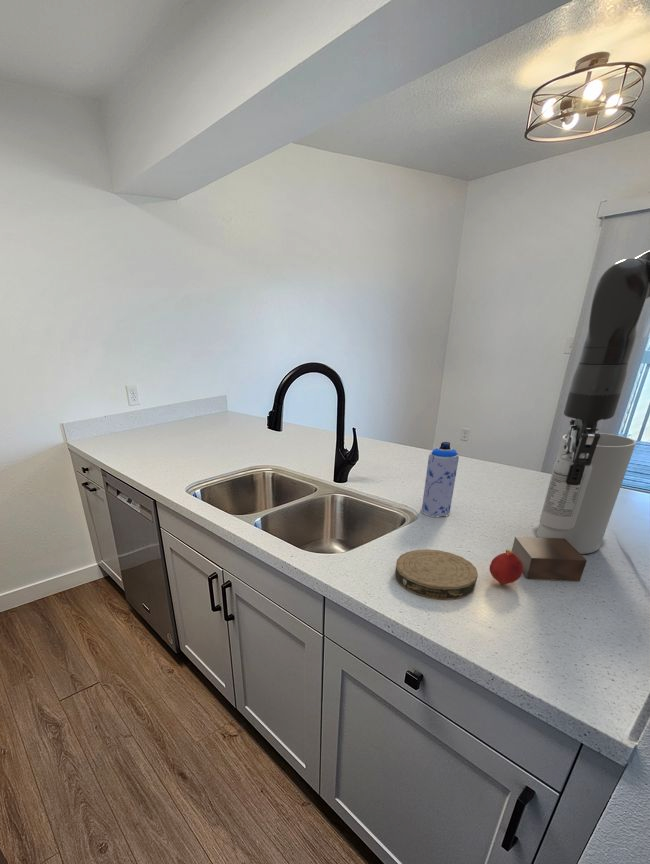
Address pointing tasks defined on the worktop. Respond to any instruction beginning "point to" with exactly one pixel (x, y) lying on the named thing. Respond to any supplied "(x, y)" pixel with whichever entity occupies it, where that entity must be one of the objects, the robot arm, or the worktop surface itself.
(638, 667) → the worktop surface
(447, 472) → the aerosol can
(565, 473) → the energy drink can
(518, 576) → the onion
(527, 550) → the walnut block
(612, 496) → the cylinder vase
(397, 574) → the wood slice
